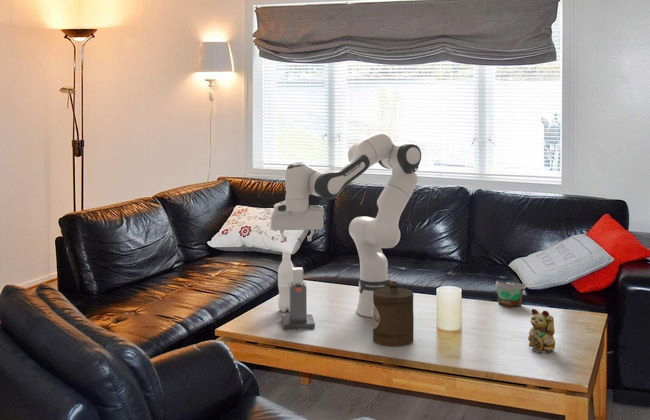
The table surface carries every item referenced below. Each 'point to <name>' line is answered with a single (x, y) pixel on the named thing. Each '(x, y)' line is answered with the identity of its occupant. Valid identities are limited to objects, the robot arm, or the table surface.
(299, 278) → the column
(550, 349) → the decorative figurine
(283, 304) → the water bottle
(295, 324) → the stand
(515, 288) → the food container
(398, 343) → the wooden container
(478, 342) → the table surface
